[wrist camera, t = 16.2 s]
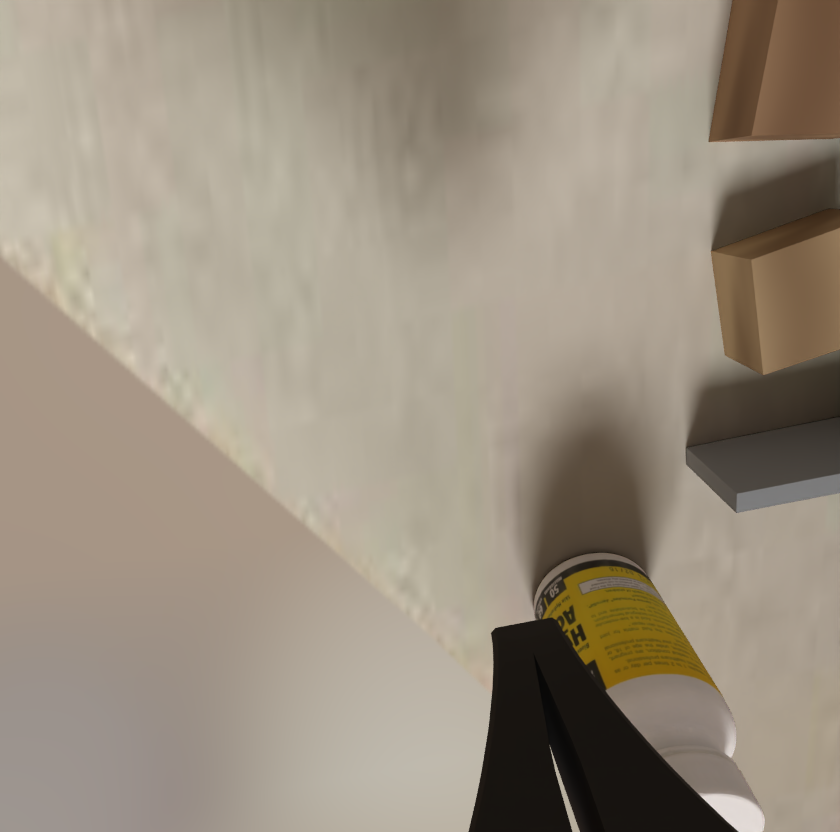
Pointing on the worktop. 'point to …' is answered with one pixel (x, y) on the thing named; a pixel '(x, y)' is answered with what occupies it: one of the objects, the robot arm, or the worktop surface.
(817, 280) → the oak tile
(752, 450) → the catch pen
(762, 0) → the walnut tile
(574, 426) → the worktop surface
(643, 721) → the supplement bottle
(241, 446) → the worktop surface
